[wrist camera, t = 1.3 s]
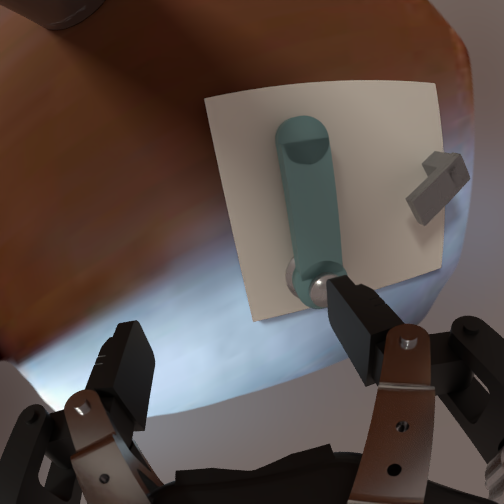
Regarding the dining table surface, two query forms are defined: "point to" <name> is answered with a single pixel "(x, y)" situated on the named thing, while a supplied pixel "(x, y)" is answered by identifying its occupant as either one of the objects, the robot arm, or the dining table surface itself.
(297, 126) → the teal link bar
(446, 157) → the grey angled pieces
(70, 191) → the dining table surface
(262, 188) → the base board
